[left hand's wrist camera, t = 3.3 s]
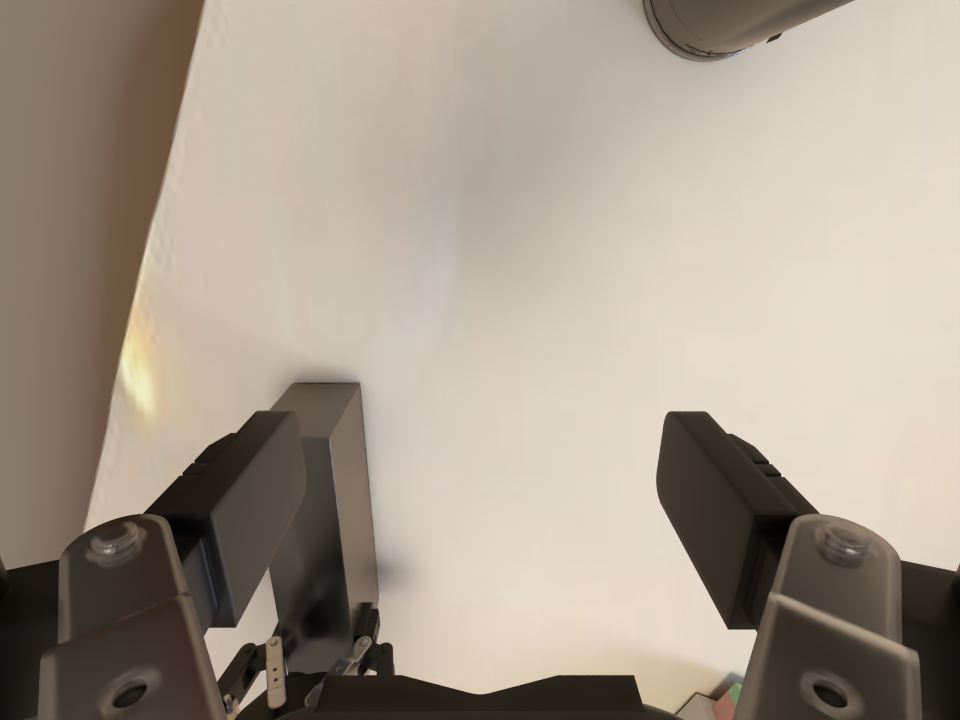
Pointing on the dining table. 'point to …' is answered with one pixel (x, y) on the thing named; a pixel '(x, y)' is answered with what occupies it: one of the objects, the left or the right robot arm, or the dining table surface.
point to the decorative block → (712, 706)
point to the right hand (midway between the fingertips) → (334, 609)
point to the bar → (326, 532)
